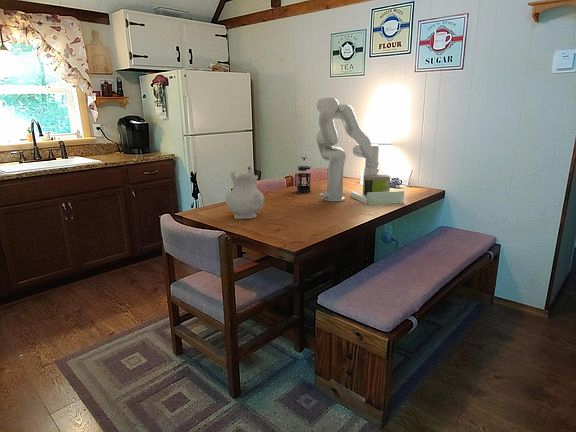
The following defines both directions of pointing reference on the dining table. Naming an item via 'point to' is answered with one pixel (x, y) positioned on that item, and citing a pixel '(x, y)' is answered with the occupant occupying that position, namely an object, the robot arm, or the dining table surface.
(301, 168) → the french press
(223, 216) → the dining table surface
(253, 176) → the ceramic pitcher
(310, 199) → the dining table surface
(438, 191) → the dining table surface
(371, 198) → the bay
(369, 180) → the tea box
